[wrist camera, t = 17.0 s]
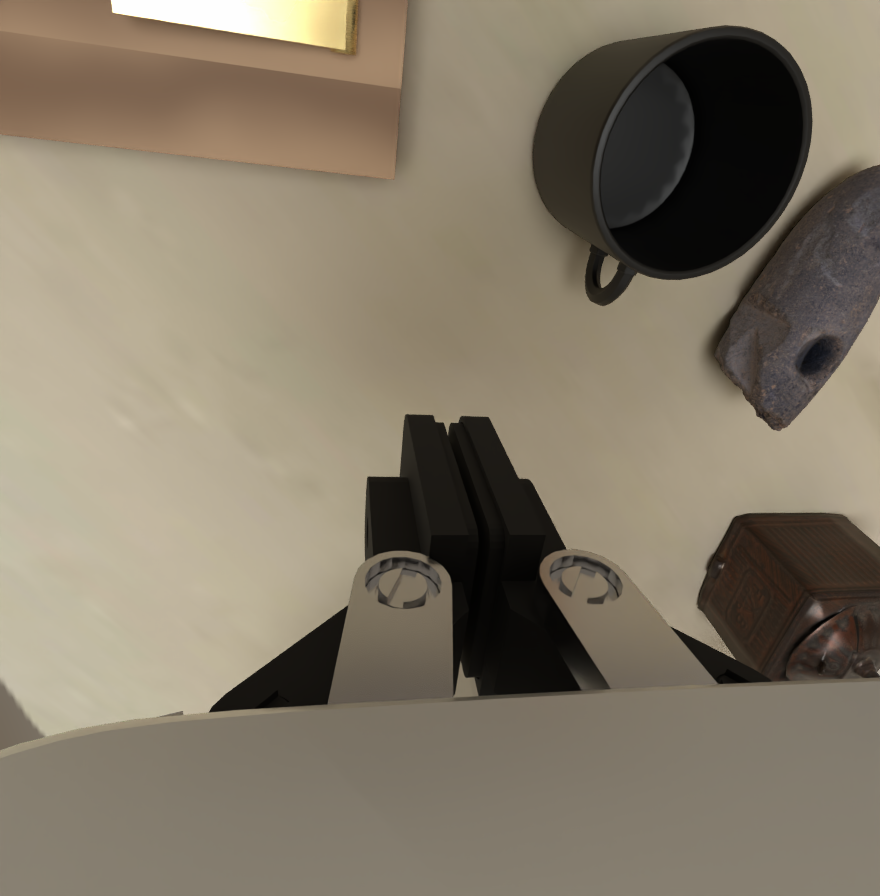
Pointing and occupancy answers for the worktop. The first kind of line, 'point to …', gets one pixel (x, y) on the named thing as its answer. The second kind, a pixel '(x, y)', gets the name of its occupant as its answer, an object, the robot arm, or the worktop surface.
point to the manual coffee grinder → (797, 596)
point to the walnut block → (202, 87)
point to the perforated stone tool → (808, 303)
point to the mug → (673, 151)
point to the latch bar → (259, 18)
